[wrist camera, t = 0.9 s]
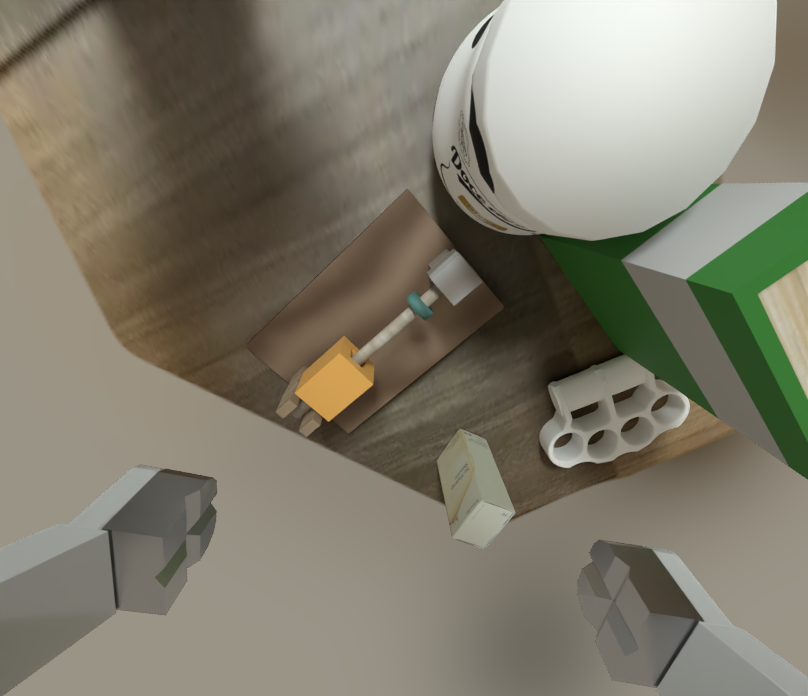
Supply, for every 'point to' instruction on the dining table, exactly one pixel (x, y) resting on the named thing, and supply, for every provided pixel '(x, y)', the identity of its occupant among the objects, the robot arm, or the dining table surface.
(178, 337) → the dining table surface
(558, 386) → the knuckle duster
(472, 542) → the skincare box
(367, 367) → the marker sleeve
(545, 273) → the dining table surface
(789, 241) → the hardback book
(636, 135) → the milk container
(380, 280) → the board
